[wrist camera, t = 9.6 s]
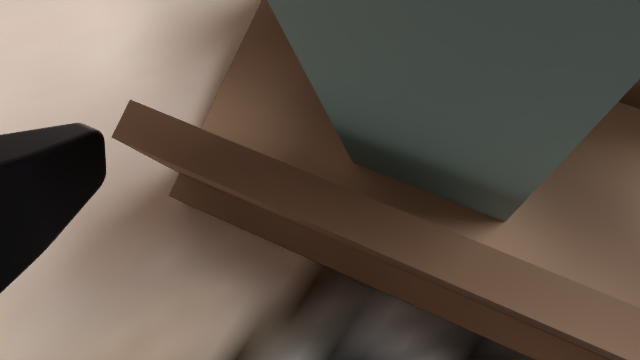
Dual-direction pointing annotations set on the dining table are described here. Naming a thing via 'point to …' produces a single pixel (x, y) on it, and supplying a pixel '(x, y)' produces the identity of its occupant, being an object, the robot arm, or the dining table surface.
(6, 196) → the robot arm
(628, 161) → the rack
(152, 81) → the dining table surface
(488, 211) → the pale teal box
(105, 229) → the dining table surface
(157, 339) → the dining table surface
